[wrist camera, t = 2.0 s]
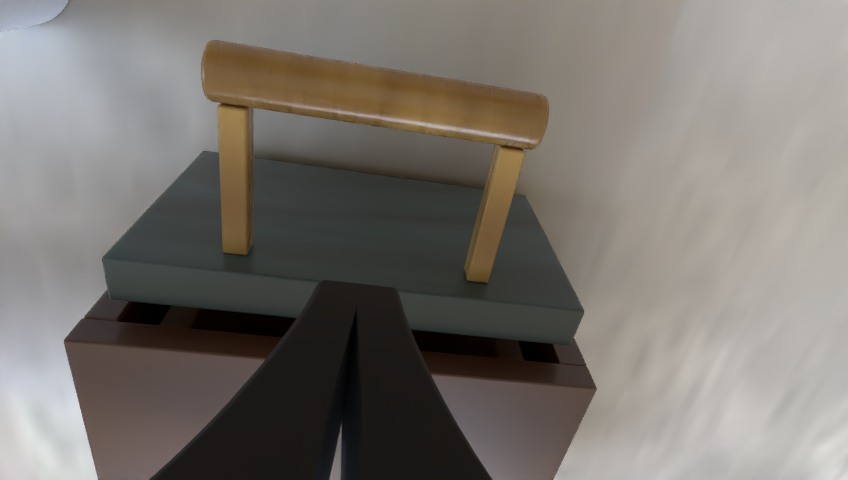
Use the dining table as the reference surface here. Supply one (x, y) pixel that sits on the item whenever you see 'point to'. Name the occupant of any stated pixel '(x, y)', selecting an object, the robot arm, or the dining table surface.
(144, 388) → the cabinet
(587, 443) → the dining table surface
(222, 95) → the drawer
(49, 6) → the paper towel roll
